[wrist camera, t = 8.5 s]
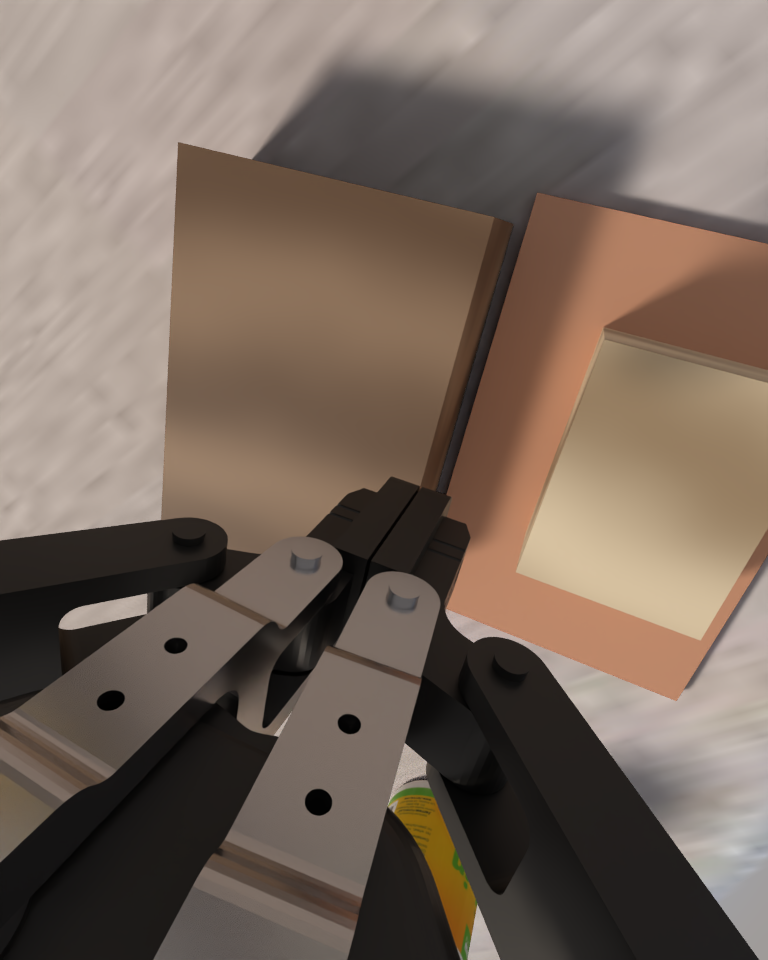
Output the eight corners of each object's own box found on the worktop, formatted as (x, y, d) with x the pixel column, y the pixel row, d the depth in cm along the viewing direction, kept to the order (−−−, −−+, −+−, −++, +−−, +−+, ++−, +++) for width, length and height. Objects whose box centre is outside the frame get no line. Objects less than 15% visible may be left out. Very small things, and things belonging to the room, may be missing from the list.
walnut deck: (249, 161, 20) (178, 142, 17) (513, 224, 18) (494, 216, 15) (218, 491, 27) (160, 527, 23) (413, 567, 24) (383, 620, 21)
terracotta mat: (538, 194, 18) (537, 192, 17) (928, 280, 15) (938, 281, 15) (418, 590, 25) (415, 596, 24) (674, 692, 22) (676, 700, 22)
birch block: (842, 403, 14) (804, 379, 17) (604, 339, 15) (603, 326, 18) (700, 640, 18) (686, 590, 20) (515, 572, 19) (525, 533, 22)
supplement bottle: (504, 857, 29) (467, 1107, 20) (411, 851, 31) (342, 1075, 23) (471, 775, 28) (416, 1006, 19) (376, 776, 30) (290, 982, 21)
